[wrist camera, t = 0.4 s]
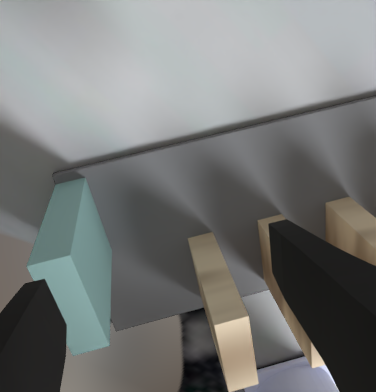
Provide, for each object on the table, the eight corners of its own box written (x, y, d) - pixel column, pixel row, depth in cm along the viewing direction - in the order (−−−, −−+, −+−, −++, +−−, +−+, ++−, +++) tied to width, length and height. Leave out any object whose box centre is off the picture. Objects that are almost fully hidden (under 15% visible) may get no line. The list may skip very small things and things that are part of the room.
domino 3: (286, 274, 25) (340, 360, 19) (264, 280, 25) (312, 368, 19) (281, 214, 23) (343, 290, 16) (257, 220, 22) (309, 299, 16)
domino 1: (112, 250, 22) (109, 346, 15) (85, 257, 22) (72, 355, 15) (85, 177, 19) (70, 255, 13) (55, 184, 19) (26, 266, 13)
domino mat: (410, 247, 26) (414, 250, 26) (116, 326, 25) (115, 331, 25) (433, 81, 21) (439, 83, 20) (53, 173, 19) (52, 176, 19)
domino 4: (347, 257, 25) (420, 337, 19) (325, 263, 25) (392, 345, 19) (349, 196, 23) (434, 264, 17) (325, 202, 23) (402, 273, 17)
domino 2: (223, 291, 25) (258, 383, 19) (201, 297, 25) (228, 392, 18) (212, 231, 22) (248, 316, 16) (187, 238, 22) (214, 325, 16)
